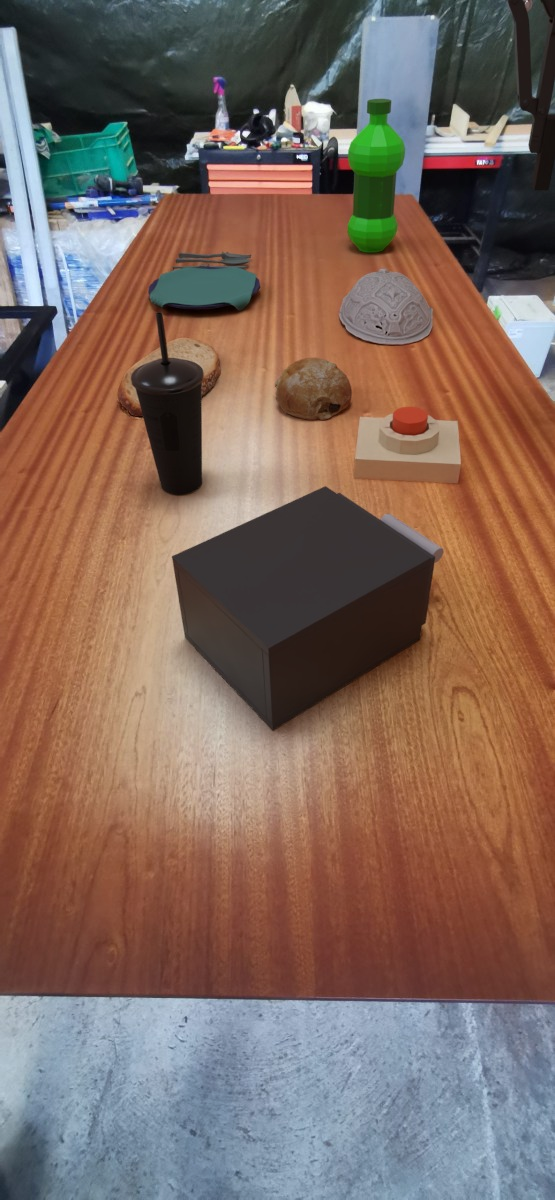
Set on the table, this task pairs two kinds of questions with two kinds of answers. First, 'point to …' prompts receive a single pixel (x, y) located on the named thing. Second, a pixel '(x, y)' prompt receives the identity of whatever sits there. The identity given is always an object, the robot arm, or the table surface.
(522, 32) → the robot arm
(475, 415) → the table surface
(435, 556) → the drawer
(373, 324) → the grey ornate dome
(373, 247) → the plastic bottle
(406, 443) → the control block
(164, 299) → the cutlery set
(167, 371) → the drinking cup
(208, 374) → the slice of bread
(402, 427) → the button
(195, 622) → the cabinet
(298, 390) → the bread roll
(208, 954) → the table surface
